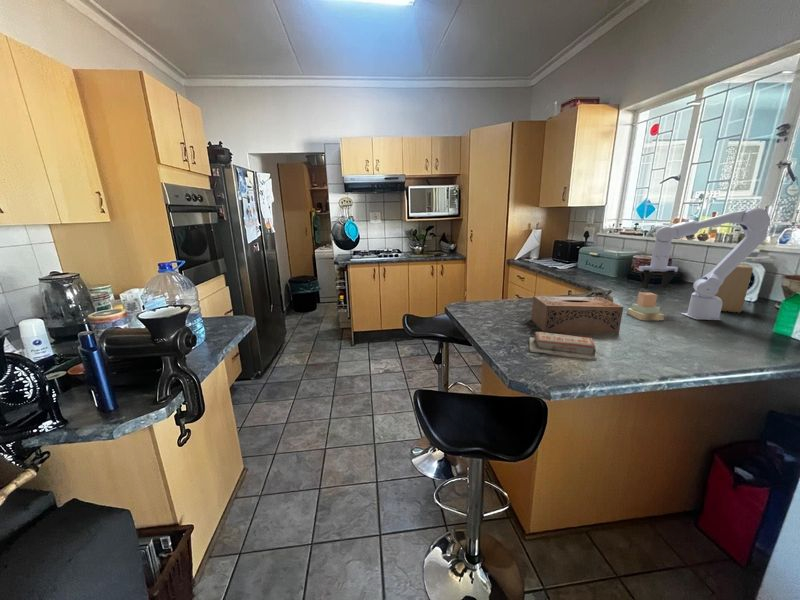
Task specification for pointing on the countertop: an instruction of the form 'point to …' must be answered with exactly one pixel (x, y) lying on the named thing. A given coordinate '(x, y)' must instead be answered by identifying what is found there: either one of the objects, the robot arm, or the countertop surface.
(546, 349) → the packaged product
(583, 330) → the tissue box cover
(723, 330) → the countertop surface
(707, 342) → the countertop surface
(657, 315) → the maple slab
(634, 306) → the sage block
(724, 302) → the wooden block
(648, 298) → the terracotta cube
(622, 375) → the countertop surface
